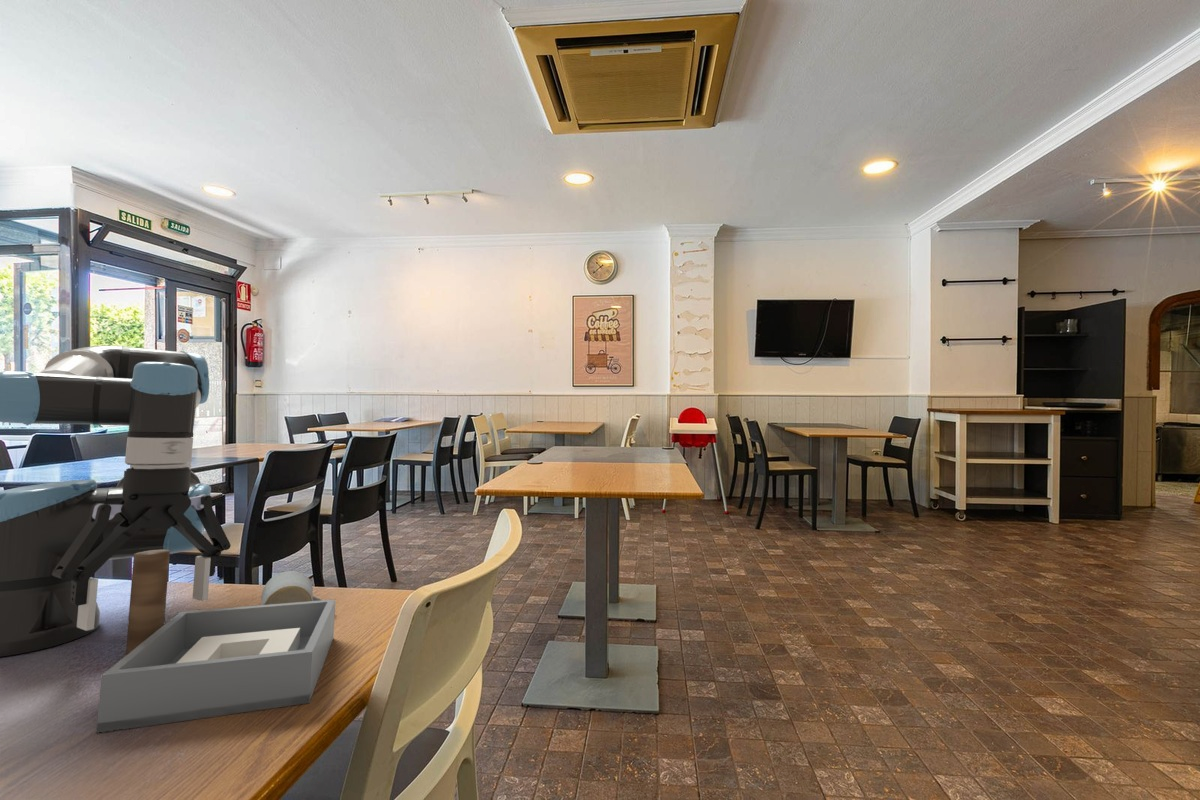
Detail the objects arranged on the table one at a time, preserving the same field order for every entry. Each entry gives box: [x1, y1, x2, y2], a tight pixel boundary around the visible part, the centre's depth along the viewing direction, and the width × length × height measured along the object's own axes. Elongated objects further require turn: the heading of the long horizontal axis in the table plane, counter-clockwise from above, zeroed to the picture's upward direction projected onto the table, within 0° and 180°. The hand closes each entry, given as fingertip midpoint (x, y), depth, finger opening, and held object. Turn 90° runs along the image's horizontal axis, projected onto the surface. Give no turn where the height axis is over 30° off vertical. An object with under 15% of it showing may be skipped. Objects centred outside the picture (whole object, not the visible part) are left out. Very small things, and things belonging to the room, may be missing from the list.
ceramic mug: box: [261, 570, 323, 605], centre depth 87 cm, size 11×8×8 cm
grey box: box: [96, 598, 336, 734], centre depth 67 cm, size 20×20×6 cm
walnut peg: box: [125, 550, 171, 656], centre depth 74 cm, size 4×4×14 cm
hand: (147, 612), depth 74 cm, fingers open, 13 cm apart
